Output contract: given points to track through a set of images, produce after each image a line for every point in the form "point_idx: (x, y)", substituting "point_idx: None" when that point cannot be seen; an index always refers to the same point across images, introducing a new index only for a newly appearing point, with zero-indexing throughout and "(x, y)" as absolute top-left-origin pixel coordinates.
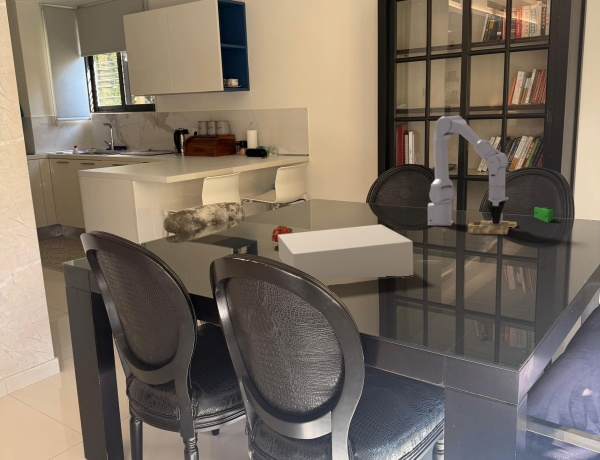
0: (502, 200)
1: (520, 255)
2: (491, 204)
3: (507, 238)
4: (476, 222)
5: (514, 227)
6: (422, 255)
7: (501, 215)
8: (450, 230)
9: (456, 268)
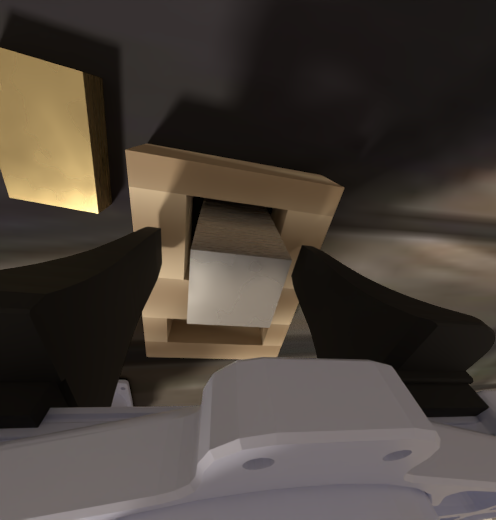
0: (454, 435)
1: None
2: (112, 399)
3: (417, 184)
4: (168, 332)
5: (100, 85)
6: None
7: (287, 255)
8: (210, 372)
9: None
